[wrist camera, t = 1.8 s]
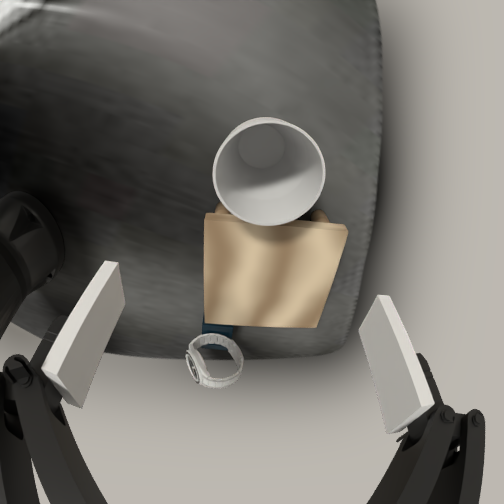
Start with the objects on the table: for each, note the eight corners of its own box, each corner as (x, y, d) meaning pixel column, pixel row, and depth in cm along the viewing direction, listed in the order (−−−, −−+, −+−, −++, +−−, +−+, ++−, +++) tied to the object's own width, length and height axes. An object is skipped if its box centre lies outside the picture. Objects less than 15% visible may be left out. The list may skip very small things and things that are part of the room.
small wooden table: (208, 290, 38) (204, 323, 33) (211, 195, 31) (204, 219, 26) (308, 296, 39) (316, 327, 34) (332, 206, 32) (348, 231, 27)
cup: (213, 120, 26) (198, 137, 18) (291, 101, 25) (314, 109, 17) (234, 190, 31) (231, 236, 22) (306, 173, 30) (331, 213, 21)
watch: (191, 307, 40) (180, 369, 31) (245, 313, 41) (246, 376, 32) (191, 331, 43) (182, 390, 34) (240, 336, 44) (241, 396, 35)
